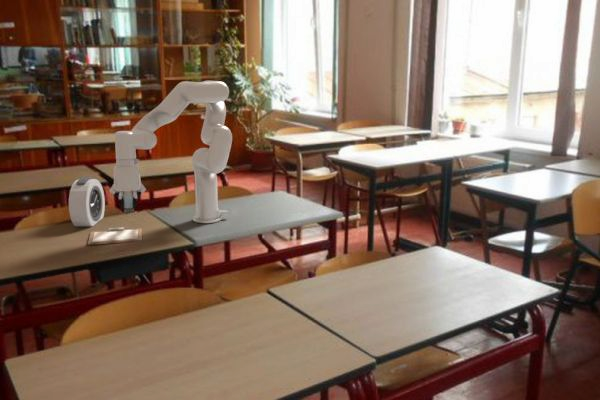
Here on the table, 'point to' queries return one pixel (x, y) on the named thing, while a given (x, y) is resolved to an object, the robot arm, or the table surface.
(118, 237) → the clipboard
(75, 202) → the alarm clock
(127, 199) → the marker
